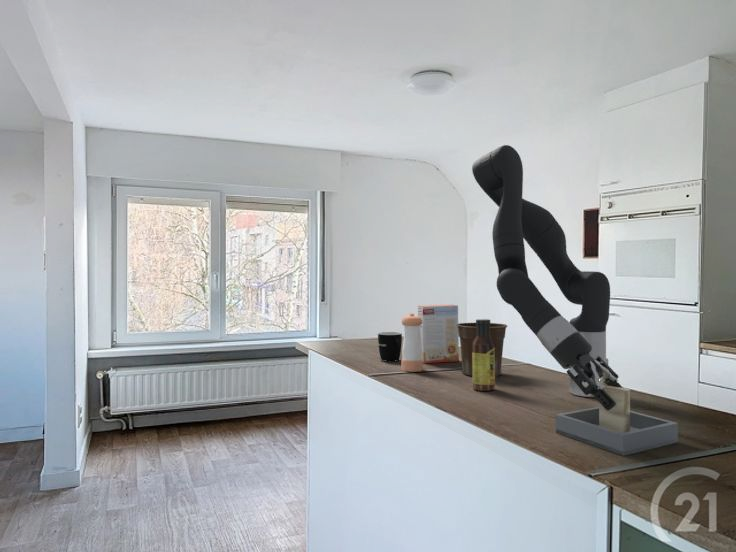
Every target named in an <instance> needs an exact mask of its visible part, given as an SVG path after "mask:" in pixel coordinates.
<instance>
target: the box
mask: <svg viewBox="0 0 736 552" xmlns="http://www.w3.org/2000/svg"><path fill="white" fill-rule="evenodd" d="M555 433H556V434H559V435H562V436H565V437H566V438H571V439H573V440H575V441H579V442H582V443H584V444H588V445H591V446H593V447H595V448H596V447H597V448H599V449H602V450H604V451H608V452H610V453H614V454H616V455H619V456H622V457H624V456H628V455H633V454H637V453H640V452H646V451H648V450H652V449H653V450H654V449H657V448H661V447H666V446H669V445H673V444H677V443H679V423H678V422H676V421H675V422H674V421H671V420H667V419H664V418H659V417H657V416H652V415H648V414H644V413H640V412H636V411H633V410H630V431H629V432H624V433H620V432H617V431H614V430H611V429H607V428H604V427H601V426H599V406H595V407H590V408H584V409H580V410H573V411H567V412H562V413H556V414H555Z"/></svg>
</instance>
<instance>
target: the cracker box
mask: <svg viewBox="0 0 736 552" xmlns="http://www.w3.org/2000/svg"><path fill="white" fill-rule="evenodd" d="M417 316H418V317H420V318H421V319H422V324H421V325H420V341H421V347H422V360H423V364H435V363H451V362H452V363H455V362H459V361H460V355H459V353H460V350H459V349H460V347H459V345H460V337H459V334H458V327H457V326H456V324H459V305H458V304H453V303H452V304H428V305H427V304H424V305H417Z"/></svg>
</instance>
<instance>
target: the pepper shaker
mask: <svg viewBox="0 0 736 552" xmlns="http://www.w3.org/2000/svg"><path fill="white" fill-rule="evenodd" d="M401 324H402V326H403V340H402V347H401V351H402V358H401V367H400V368H401V371H403V372H410V373H413V372H414V373H415V372H422V371H423V370H424V363H423V360H422V347H421V341H420V325H421V324H422V319H421V318H420V317H418V315H415V314H414V313H409V315H406V316H404V317H402V318H401Z"/></svg>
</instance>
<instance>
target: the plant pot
mask: <svg viewBox="0 0 736 552" xmlns="http://www.w3.org/2000/svg"><path fill="white" fill-rule="evenodd" d="M456 326H457V327H458V335H459V345H460V355H461V356H460V357H461V370H462V373H463V374H464V375H465V376H469V377H470V376H471V377H473V370H472V352H473V341H474V339H475V338H476V336H477V334H476V333H477V326H476V322H460V323H459V322H458V324H456ZM507 328H508V325H507V324H504V323H497V322H496V323H495V322H490V336H491V339H492V341H493V344H494V347H495V377H497V376H500V375H501V374H502V373H501V372H502V362H503V351H504V350H503V349H504V342H505V341H504V340H505V338H506V330H507Z"/></svg>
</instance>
